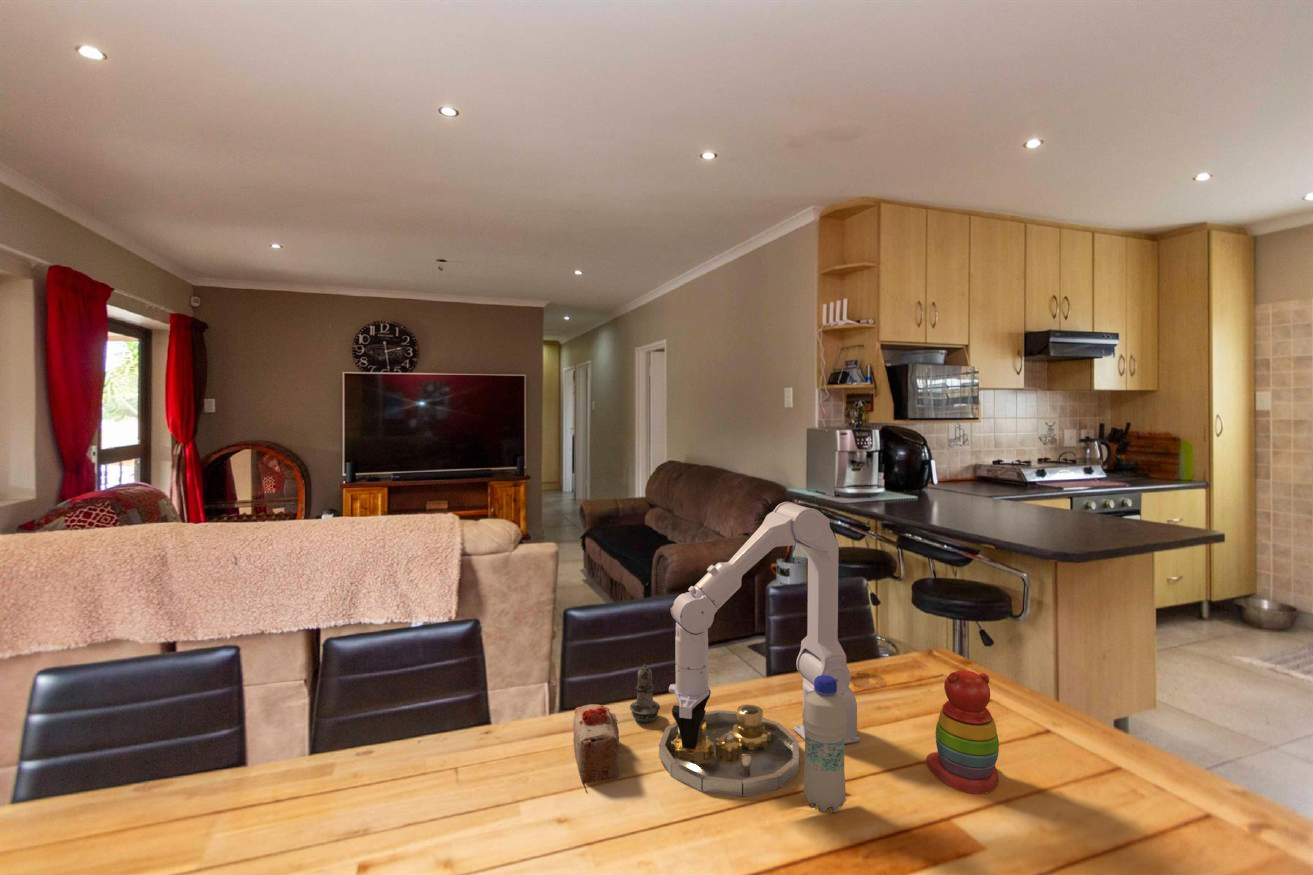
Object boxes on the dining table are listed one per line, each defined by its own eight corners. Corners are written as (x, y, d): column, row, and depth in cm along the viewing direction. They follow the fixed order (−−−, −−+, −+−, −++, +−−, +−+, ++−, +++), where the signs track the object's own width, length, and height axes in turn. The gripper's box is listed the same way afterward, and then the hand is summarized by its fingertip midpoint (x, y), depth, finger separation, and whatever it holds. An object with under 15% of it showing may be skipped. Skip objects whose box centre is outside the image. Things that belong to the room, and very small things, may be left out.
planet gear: (703, 736, 116) (703, 707, 116) (719, 757, 110) (719, 726, 109) (665, 743, 114) (665, 713, 114) (679, 764, 107) (679, 733, 107)
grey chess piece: (661, 717, 126) (661, 658, 126) (658, 732, 120) (658, 670, 120) (632, 716, 127) (631, 657, 126) (627, 731, 121) (627, 669, 120)
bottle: (847, 795, 101) (848, 670, 100) (845, 821, 94) (846, 688, 93) (804, 787, 103) (804, 665, 102) (799, 812, 96) (800, 682, 96)
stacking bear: (988, 762, 110) (990, 661, 109) (1012, 798, 100) (1014, 686, 99) (922, 758, 111) (924, 657, 111) (939, 792, 101) (941, 682, 101)
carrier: (758, 718, 126) (758, 685, 125) (828, 786, 103) (828, 745, 103) (642, 738, 118) (642, 703, 118) (689, 816, 95) (689, 772, 95)
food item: (570, 748, 115) (569, 695, 115) (613, 743, 117) (613, 690, 117) (578, 792, 102) (578, 732, 101) (627, 785, 104) (627, 726, 103)
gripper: (676, 646, 119) (676, 717, 120) (661, 678, 105) (661, 759, 106) (713, 649, 118) (714, 721, 118) (703, 682, 104) (703, 763, 104)
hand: (691, 739), depth 112 cm, fingers closed on planet gear, 5 cm apart
